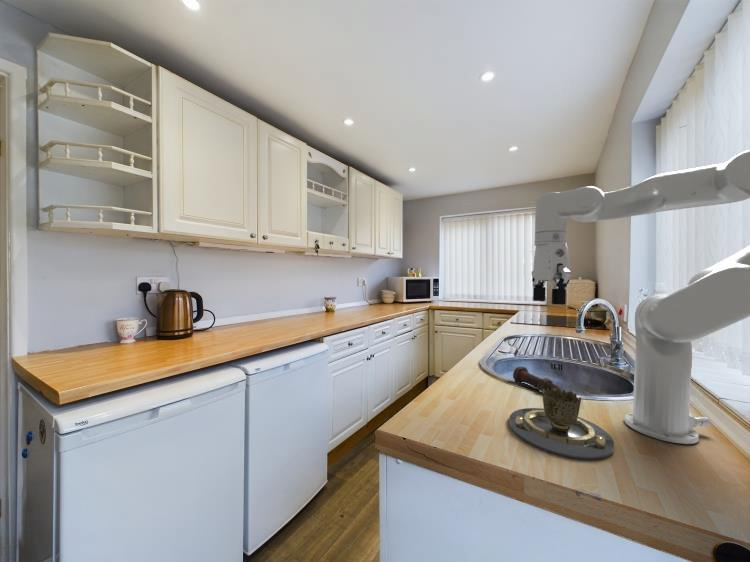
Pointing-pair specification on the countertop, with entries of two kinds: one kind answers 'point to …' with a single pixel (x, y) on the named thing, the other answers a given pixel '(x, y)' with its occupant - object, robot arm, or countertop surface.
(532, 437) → the carrier plate
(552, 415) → the dark hollow rounded piece
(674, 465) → the countertop surface
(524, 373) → the bolt
